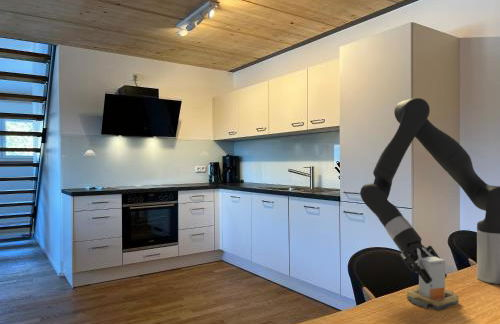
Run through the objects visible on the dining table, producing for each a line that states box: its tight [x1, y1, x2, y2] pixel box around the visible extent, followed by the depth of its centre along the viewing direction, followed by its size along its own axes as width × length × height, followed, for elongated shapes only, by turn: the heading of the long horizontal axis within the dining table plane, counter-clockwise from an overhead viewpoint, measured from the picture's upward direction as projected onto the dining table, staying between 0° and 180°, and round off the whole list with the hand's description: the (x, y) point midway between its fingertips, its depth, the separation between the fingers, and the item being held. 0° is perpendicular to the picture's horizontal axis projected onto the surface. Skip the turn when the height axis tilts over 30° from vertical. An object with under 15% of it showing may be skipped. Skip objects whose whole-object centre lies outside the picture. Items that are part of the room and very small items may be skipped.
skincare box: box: [418, 257, 446, 300], centre depth 109 cm, size 6×4×12 cm
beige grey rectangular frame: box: [406, 287, 460, 312], centre depth 109 cm, size 13×10×2 cm
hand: (437, 280), depth 107 cm, fingers closed on skincare box, 6 cm apart
